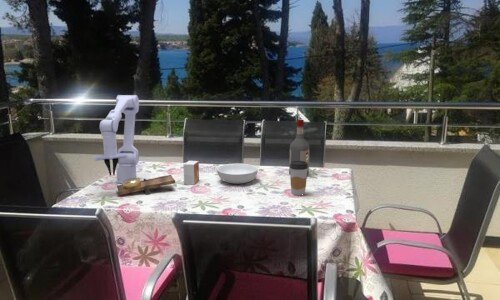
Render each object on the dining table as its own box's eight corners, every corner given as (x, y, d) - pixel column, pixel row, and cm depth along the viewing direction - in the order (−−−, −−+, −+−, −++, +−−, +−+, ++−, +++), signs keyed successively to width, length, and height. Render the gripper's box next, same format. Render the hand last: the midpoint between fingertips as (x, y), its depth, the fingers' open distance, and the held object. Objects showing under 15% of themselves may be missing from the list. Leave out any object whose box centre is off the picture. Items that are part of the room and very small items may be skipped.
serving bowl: (210, 184, 215) (209, 171, 214) (227, 174, 234) (227, 161, 233) (248, 189, 208) (248, 175, 206) (263, 178, 227) (263, 165, 225)
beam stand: (145, 194, 199) (145, 185, 198) (142, 187, 210) (142, 178, 209) (150, 194, 200) (149, 185, 199) (147, 187, 211) (146, 178, 210)
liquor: (287, 175, 230) (288, 120, 224) (295, 172, 238) (296, 118, 232) (303, 178, 226) (304, 121, 219) (310, 174, 233) (311, 119, 227)
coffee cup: (308, 192, 203) (309, 161, 200) (305, 197, 195) (306, 165, 192) (291, 190, 206) (292, 159, 202) (287, 195, 198) (287, 163, 195)
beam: (118, 195, 196) (118, 191, 195) (117, 188, 205) (116, 185, 205) (175, 183, 204) (174, 179, 203) (171, 177, 213) (171, 174, 213)
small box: (194, 185, 214) (193, 164, 212) (183, 184, 215) (183, 164, 213) (199, 180, 222) (199, 160, 220) (189, 180, 223) (188, 160, 221)
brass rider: (124, 190, 197) (123, 184, 196) (123, 185, 205) (122, 180, 204) (142, 187, 200) (141, 180, 199) (140, 182, 207) (139, 176, 206)
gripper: (93, 148, 189) (95, 178, 192) (127, 146, 194) (129, 175, 197) (93, 145, 195) (95, 174, 198) (126, 143, 200) (127, 171, 203)
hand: (112, 174), depth 198 cm, fingers closed
